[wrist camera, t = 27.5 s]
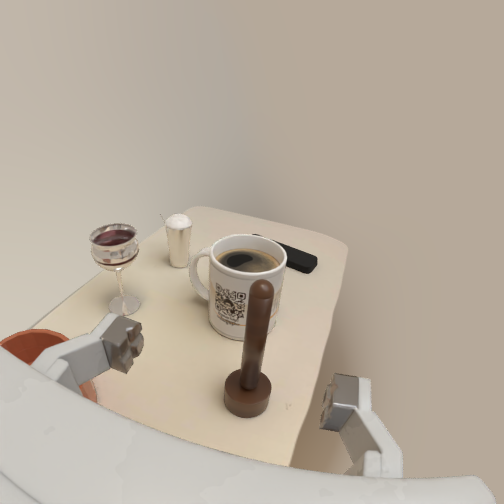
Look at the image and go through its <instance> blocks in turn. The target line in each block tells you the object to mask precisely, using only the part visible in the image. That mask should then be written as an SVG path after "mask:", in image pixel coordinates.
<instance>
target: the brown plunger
mask: <svg viewBox="0 0 504 504" xmlns="http://www.w3.org/2000/svg"><path fill="white" fill-rule="evenodd" d="M273 298H274V287H273V285H272V284H271V283H270V282H269V281H268V280H265V279H259V280H256V281H254V282H253V283H252V285H251V286H250V290H249V299H248V308H247V317H246V326H245V335H244V344H243V353H242V363H241V369H239V370H236V371H234V372H233V373H231V374H230V375H229V376H228V378H227V379H226V382H225V394H224V402H225V405H226V407H227V409H228V410H229V411H230V412H231V413H233V414H234V415H236V416H239V417H243V418H251V417H256V416H258V415H260V414H261V413H263V412H264V411H265V409H266V408H267V405H268V401H269V397H270V393H271V383H270V381H269V379H268V378H267V376H266V375H265V374H263V373H262V372H261V366H262V361H263V355H264V350H265V344H266V338H267V333H268V327H269V321H270V315H271V309H272V304H273Z"/></svg>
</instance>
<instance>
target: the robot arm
mask: <svg viewBox="0 0 504 504" xmlns="http://www.w3.org/2000/svg"><path fill="white" fill-rule="evenodd" d="M141 330H142V326H141V323H139V322H136V321H134V320H131V319H128V318H126V317H123V316H121V315H118V314H115V313H113V312H110V313H108V314H107V315H106V316H105V317H104V318H103V319H102V320H101V322H100V323H99V324H98V325H97V326H96V327H95V329H94V330H93V331H92V332H91V333H90V334H88V333H86V334H84V335H81V336H78V337H76V338H73V339H70V340H68V341H65V342H62V343H60V344H57V345H54V346H51V347H49V348H46V349H45V350H44V351H43V352H42V353H41V354H40V355H39V356H38V357H37V359H36V360H35V361H34V362H33V363H32V364H31V365H30V366H29V365H28V364H26V363H25V362H23V361H22V360H20V359H19V358H17V357H16V356H14V355H13V354H11V353H10V352H8V351H7V350H6V349H4V348H3V347H1V346H0V504H496V499H495V496H494V495H493V493H492V492H491V491H490V489H489V488H488V487H487V486H486V485H485V483H484V482H483V481H482V480H481V479H480V478H479V477H478V476H475V475H466V476H454V477H437V478H403V452H402V451H401V449H400V448H399V446H398V445H397V443H396V442H395V440H394V439H393V438H392V436H391V435H390V433H389V432H388V430H387V429H386V427H385V426H384V425H383V423H382V422H381V420H380V419H379V417H378V416H377V414H376V413H375V412H372V410H371V381H370V379H367V378H361V377H355V376H349V375H343V374H337V373H334V374H333V376H332V378H331V383H330V384H329V385H328V386H327V388H326V390H325V394H324V398H323V403H322V407H323V409H324V411H323V413H322V415H321V419H320V429H325V430H330V431H335V432H339V434H340V436H341V439H342V441H343V443H344V445H345V447H346V449H347V451H348V453H349V455H350V457H351V460H352V462H353V465H352V466H351V468H349V469H348V470H347V471H346V472H345V473H344V474H343V475H341V474H333V473H325V472H317V471H311V470H304V469H298V468H292V467H287V466H282V465H276V464H272V463H267V462H262V461H258V460H254V459H249V458H245V457H241V456H237V455H234V454H230V453H226V452H223V451H219V450H216V449H212V448H209V447H206V446H203V445H199V444H196V443H193V442H190V441H187V440H184V439H181V438H178V437H175V436H173V435H170V434H167V433H164V432H162V431H159V430H156V429H154V428H151V427H149V426H146V425H144V424H141V423H139V422H137V421H134V420H132V419H130V418H127V417H125V416H123V415H120V414H118V413H116V412H114V411H112V410H110V409H107V408H105V407H103V406H101V405H99V404H97V403H95V402H93V401H91V400H89V399H87V398H85V397H83V394H82V392H81V390H80V388H79V386H80V385H81V384H83V383H85V382H87V381H89V380H90V379H92V378H94V377H96V376H98V375H100V374H101V373H103V372H105V371H107V370H108V369H110V368H113V369H115V370H118V371H120V372H123V373H126V374H127V372H128V371H129V369H130V368H131V366H132V365H133V358H135V357H138V356H139V354H140V353H141V351H142V348H143V344H144V338H143V336H142V334H141V333H140V331H141Z"/></svg>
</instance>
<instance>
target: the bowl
mask: <svg viewBox="0 0 504 504" xmlns="http://www.w3.org/2000/svg"><path fill="white" fill-rule="evenodd" d="M68 340H70V339H68V338H67V337H65V336H64V335H63V334H61V333H58V332H54V331H51V330H47V329H30V330H26V331H22V332H18V333H15V334H13V335H11V336H9V337H7V338H5V339H4V340H2V341H1V342H0V346H1V347H3V348H4V349H6V350H7V351H8V352H10V353H11V354H13V355H14V356H16V357H17V358H19V359H20V360H22V361H23V362H25V363H26V364H28V365H29V366H30V365H31V364H32V363H33V362H34V361H35V360H36V359H37V357H38V356H39V355H40V354H41V353H42V352H43V351H44V350H45V349H46V348H49V347H51V346H54V345H57V344H60V343H62V342H65V341H68ZM79 388H80V390H81V392H82V394H83V397H85V398H87V399H89V400H91V401H93V402H95V403H97V394H96V390H95V387H94V384H93V381H92V379H90V380H89V381H87V382H85V383H83V384H81V385H80V386H79Z"/></svg>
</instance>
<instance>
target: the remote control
mask: <svg viewBox="0 0 504 504" xmlns="http://www.w3.org/2000/svg"><path fill="white" fill-rule="evenodd" d="M252 235H257V234H252ZM257 236H260V235H257ZM262 237H263V236H262ZM270 240H271V239H270ZM273 241H274V240H273ZM274 242H276V241H274ZM276 243H278V244H279V245H280V246H281V247H282V248H283V249H284V250H285V252H286V254H287V263H286V266H289V267H291V268H294V269H296V270H299V271H301V272H304V273H310V272H312V270H313V269H314V268H315V267H316V266H317V257H316V256H314V255H311V254H309V253H306V252H303V251H301V250H298V249H295V248H292V247H290V246H287V245H284V244H282V243H279V242H276Z"/></svg>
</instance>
